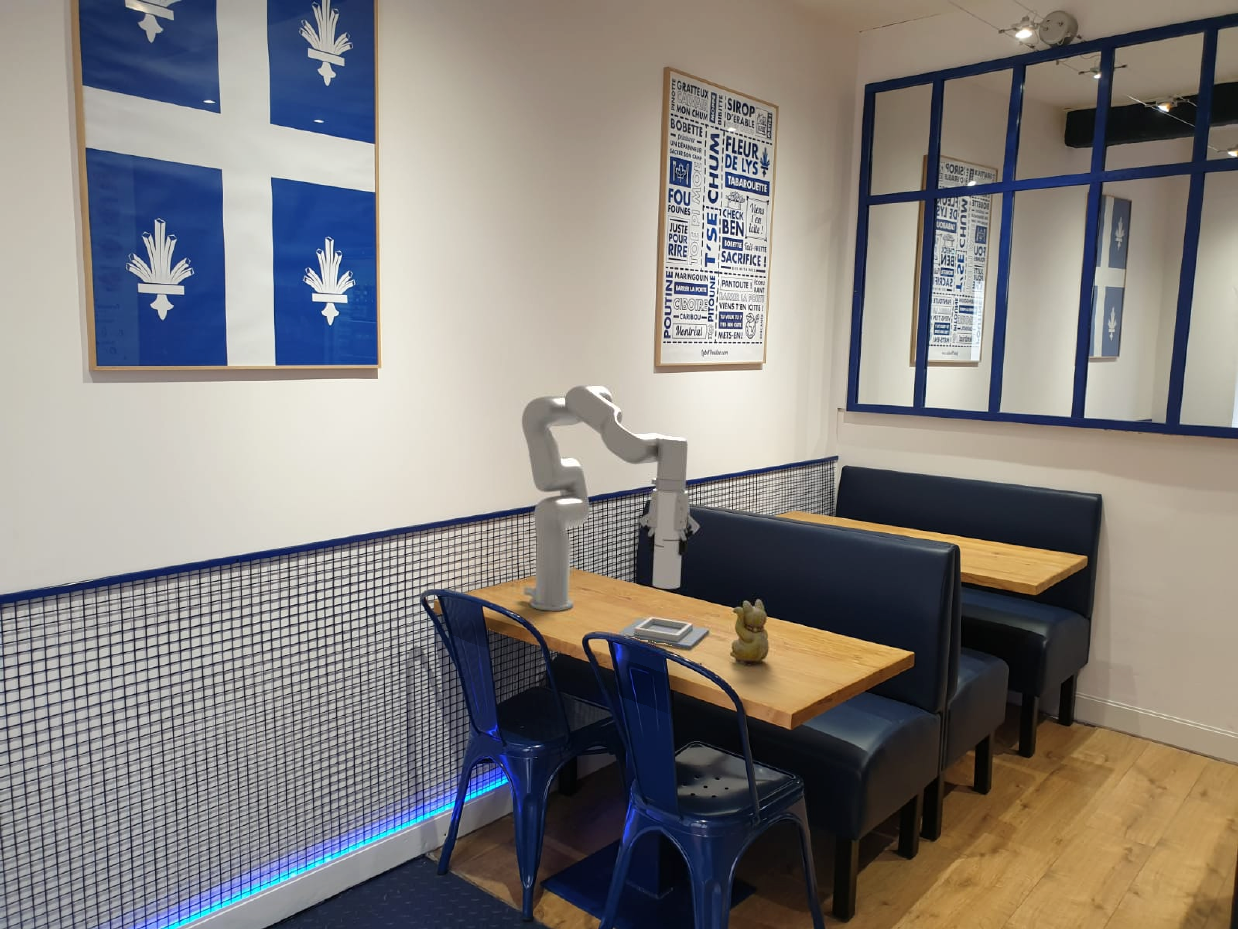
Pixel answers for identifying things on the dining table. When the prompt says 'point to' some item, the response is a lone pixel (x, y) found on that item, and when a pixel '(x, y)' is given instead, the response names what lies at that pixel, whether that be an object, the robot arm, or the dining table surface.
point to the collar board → (666, 632)
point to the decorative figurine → (750, 634)
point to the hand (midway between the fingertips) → (667, 552)
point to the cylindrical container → (666, 545)
